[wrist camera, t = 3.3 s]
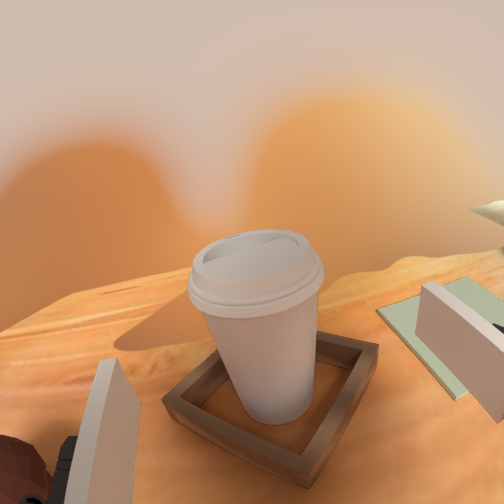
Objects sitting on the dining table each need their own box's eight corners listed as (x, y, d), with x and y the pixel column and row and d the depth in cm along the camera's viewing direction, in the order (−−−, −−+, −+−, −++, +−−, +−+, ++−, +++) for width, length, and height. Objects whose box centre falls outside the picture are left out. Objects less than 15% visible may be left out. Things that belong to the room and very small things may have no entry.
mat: (377, 313, 35) (377, 309, 35) (466, 279, 37) (467, 275, 37) (454, 401, 21) (456, 397, 21) (543, 336, 22) (545, 332, 22)
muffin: (24, 589, 6) (-73, 538, 2) (-9, 500, 13) (-77, 437, 9) (122, 549, 13) (35, 497, 9) (70, 461, 20) (8, 390, 17)
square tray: (257, 335, 36) (253, 315, 35) (376, 366, 28) (378, 344, 27) (172, 418, 26) (160, 399, 25) (308, 489, 17) (307, 473, 16)
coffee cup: (319, 356, 31) (307, 218, 25) (339, 428, 22) (340, 270, 16) (228, 370, 31) (192, 237, 26) (225, 444, 23) (166, 297, 17)
